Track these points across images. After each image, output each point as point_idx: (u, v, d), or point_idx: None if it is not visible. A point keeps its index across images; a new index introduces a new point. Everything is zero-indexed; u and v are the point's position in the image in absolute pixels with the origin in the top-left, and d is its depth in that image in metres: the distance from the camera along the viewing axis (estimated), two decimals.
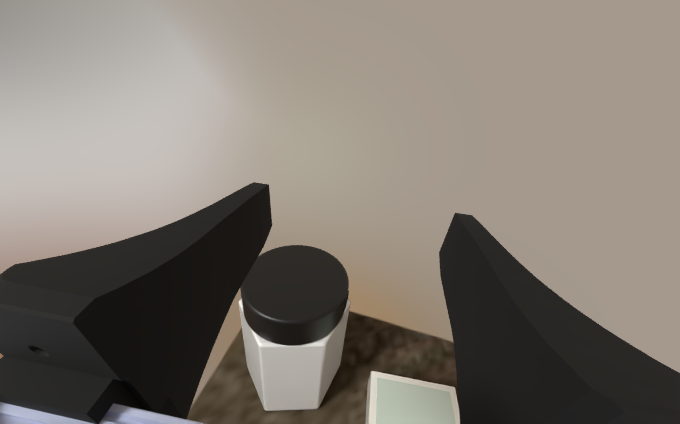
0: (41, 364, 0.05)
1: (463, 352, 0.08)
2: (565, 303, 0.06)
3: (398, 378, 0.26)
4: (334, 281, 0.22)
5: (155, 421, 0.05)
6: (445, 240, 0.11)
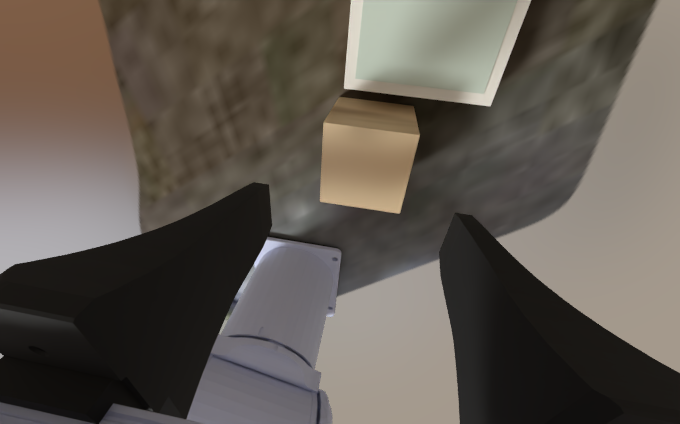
0: (41, 364, 0.05)
1: (463, 352, 0.08)
2: (565, 303, 0.06)
3: None
4: None
5: (155, 421, 0.05)
6: (445, 240, 0.11)
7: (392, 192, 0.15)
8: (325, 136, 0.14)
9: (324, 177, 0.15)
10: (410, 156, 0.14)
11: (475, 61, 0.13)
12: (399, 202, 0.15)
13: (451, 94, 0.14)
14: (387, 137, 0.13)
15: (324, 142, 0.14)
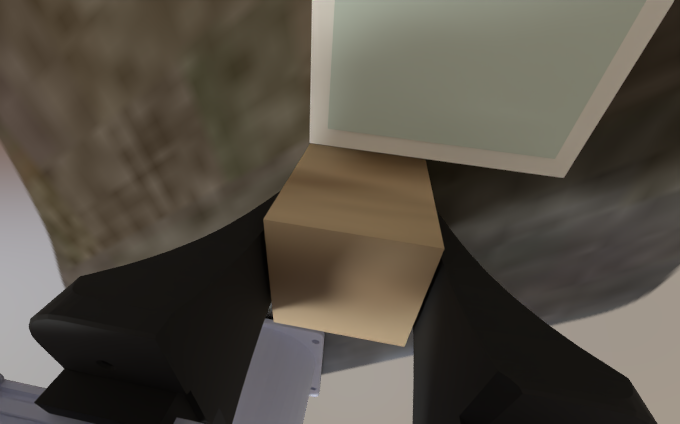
0: (103, 378, 0.05)
1: (419, 344, 0.08)
2: (506, 293, 0.06)
3: None
4: None
5: None
6: None
7: (392, 321, 0.09)
8: (269, 240, 0.07)
9: (276, 294, 0.09)
10: (425, 277, 0.07)
11: (547, 105, 0.07)
12: (403, 333, 0.09)
13: (495, 157, 0.08)
14: (382, 248, 0.07)
15: (269, 248, 0.08)
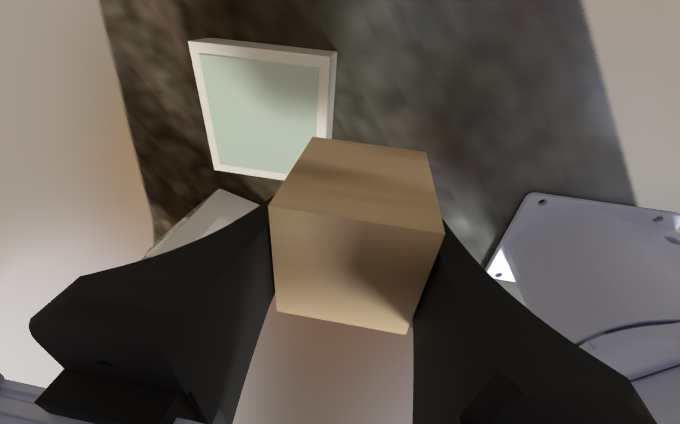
0: (103, 377, 0.05)
1: (419, 344, 0.08)
2: (505, 293, 0.06)
3: (210, 134, 0.18)
4: None
5: None
6: None
7: (393, 308, 0.09)
8: (274, 226, 0.08)
9: (280, 282, 0.09)
10: (426, 263, 0.08)
11: (293, 83, 0.15)
12: (405, 321, 0.09)
13: (321, 98, 0.15)
14: (384, 234, 0.07)
15: (273, 235, 0.08)
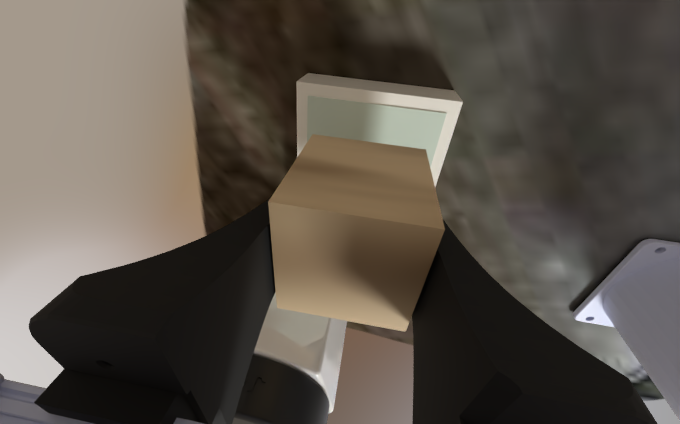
0: (103, 377, 0.05)
1: (419, 344, 0.08)
2: (505, 293, 0.06)
3: None
4: None
5: None
6: None
7: (393, 305, 0.09)
8: (274, 223, 0.08)
9: (280, 278, 0.09)
10: (426, 259, 0.08)
11: (412, 128, 0.13)
12: (405, 318, 0.09)
13: (441, 144, 0.14)
14: (384, 230, 0.07)
15: (273, 231, 0.08)
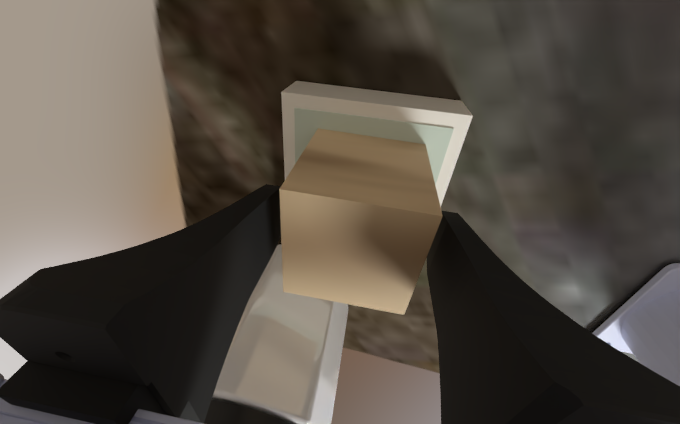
0: (65, 369, 0.05)
1: (445, 349, 0.08)
2: (541, 299, 0.06)
3: None
4: None
5: (155, 421, 0.05)
6: None
7: (393, 288, 0.10)
8: (284, 209, 0.08)
9: (287, 263, 0.10)
10: (424, 244, 0.08)
11: None
12: (404, 301, 0.10)
13: (447, 163, 0.12)
14: (386, 216, 0.08)
15: (283, 217, 0.08)
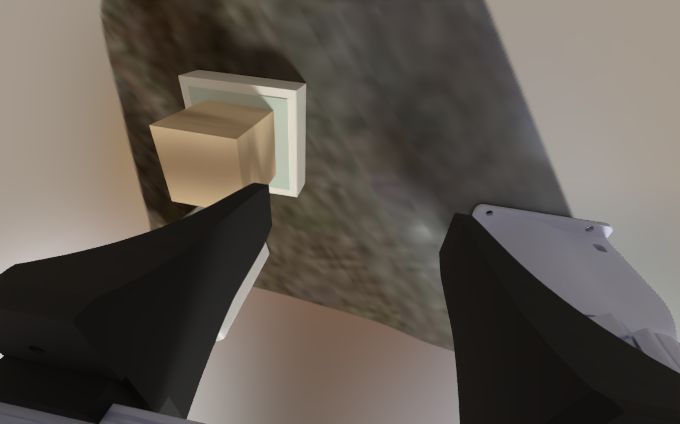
0: (41, 364, 0.05)
1: (463, 352, 0.08)
2: (565, 303, 0.06)
3: None
4: None
5: (155, 421, 0.05)
6: (445, 240, 0.11)
7: None
8: (155, 138, 0.14)
9: (167, 177, 0.16)
10: (235, 159, 0.14)
11: None
12: None
13: (291, 124, 0.18)
14: (209, 141, 0.14)
15: (156, 144, 0.14)
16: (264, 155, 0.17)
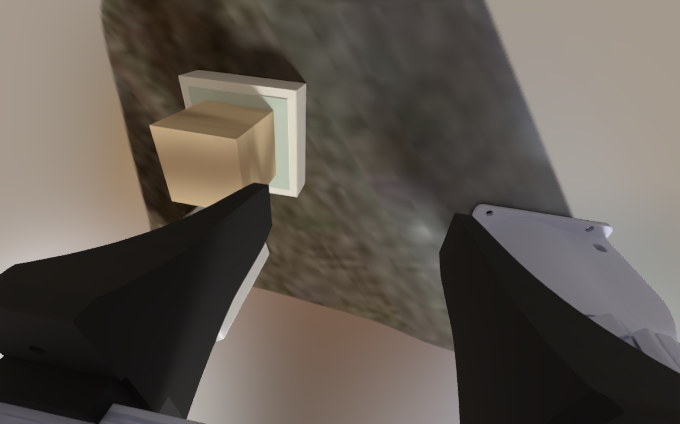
0: (41, 364, 0.05)
1: (463, 352, 0.08)
2: (565, 303, 0.06)
3: None
4: None
5: (155, 421, 0.05)
6: (445, 240, 0.11)
7: None
8: (155, 138, 0.14)
9: (167, 177, 0.16)
10: (235, 159, 0.14)
11: None
12: None
13: (291, 124, 0.18)
14: (209, 141, 0.14)
15: (156, 144, 0.14)
16: (264, 155, 0.17)
